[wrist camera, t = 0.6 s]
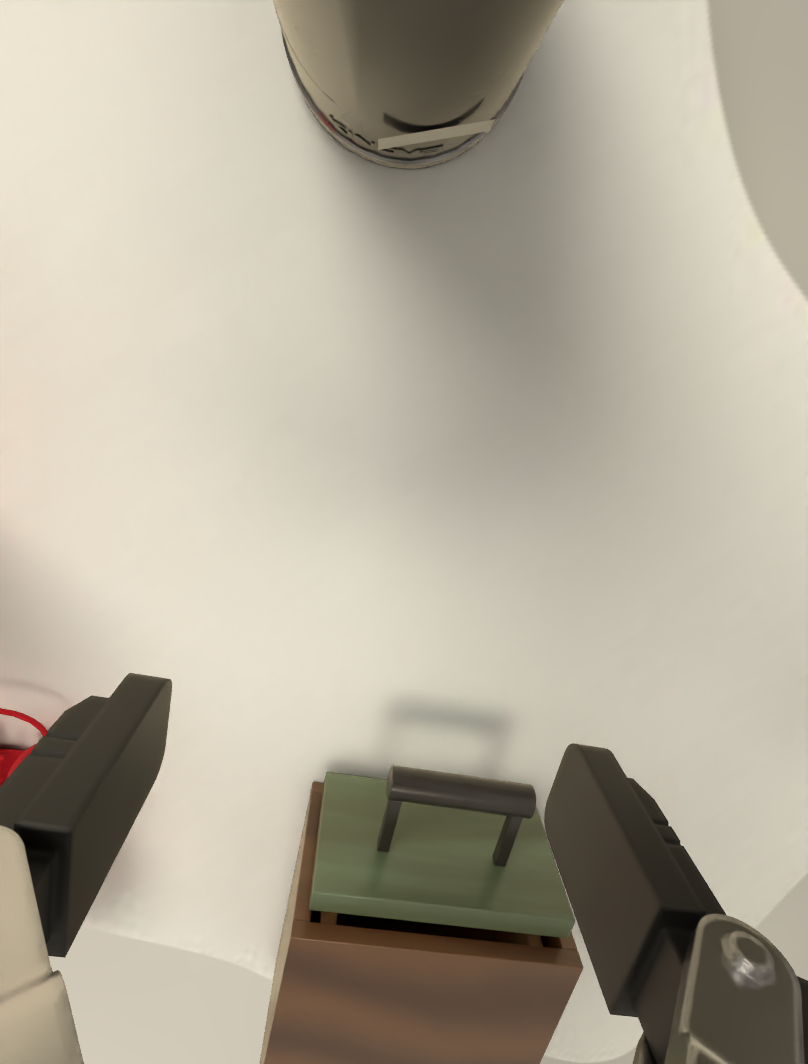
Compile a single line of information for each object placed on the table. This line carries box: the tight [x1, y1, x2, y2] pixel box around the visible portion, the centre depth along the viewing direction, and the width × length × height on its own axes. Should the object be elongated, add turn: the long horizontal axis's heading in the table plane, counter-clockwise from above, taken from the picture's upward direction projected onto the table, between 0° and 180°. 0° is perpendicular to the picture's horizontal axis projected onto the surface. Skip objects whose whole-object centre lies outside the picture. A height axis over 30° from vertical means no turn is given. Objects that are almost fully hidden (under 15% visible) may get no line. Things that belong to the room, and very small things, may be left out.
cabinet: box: [260, 782, 583, 1064], centre depth 32 cm, size 16×14×9 cm
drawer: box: [309, 765, 575, 947], centre depth 30 cm, size 19×12×7 cm, turn 168°
